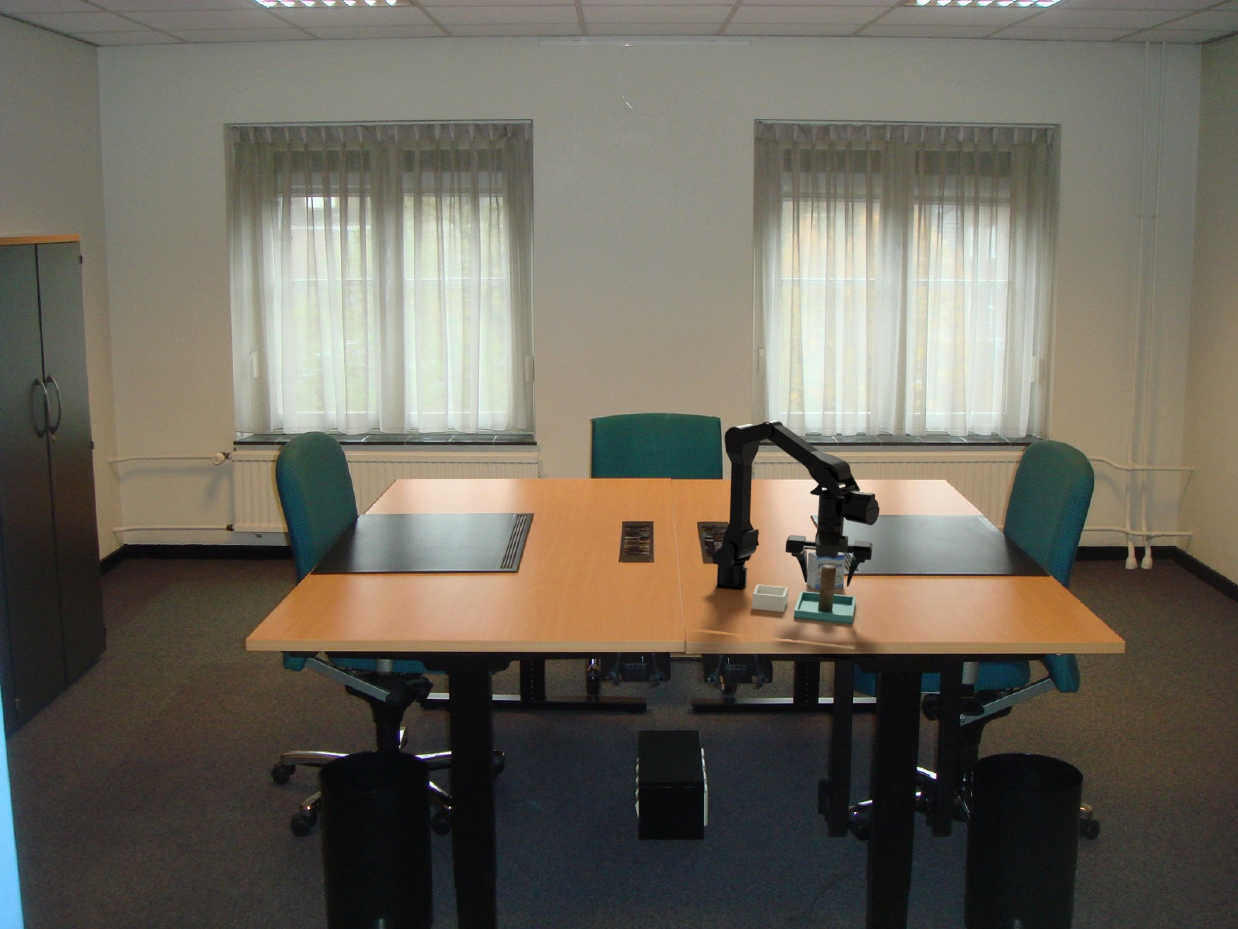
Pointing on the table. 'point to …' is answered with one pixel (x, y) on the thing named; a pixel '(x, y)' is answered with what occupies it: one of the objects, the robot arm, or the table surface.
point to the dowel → (827, 588)
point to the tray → (839, 613)
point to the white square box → (770, 598)
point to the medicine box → (816, 566)
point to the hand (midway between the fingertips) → (826, 584)
